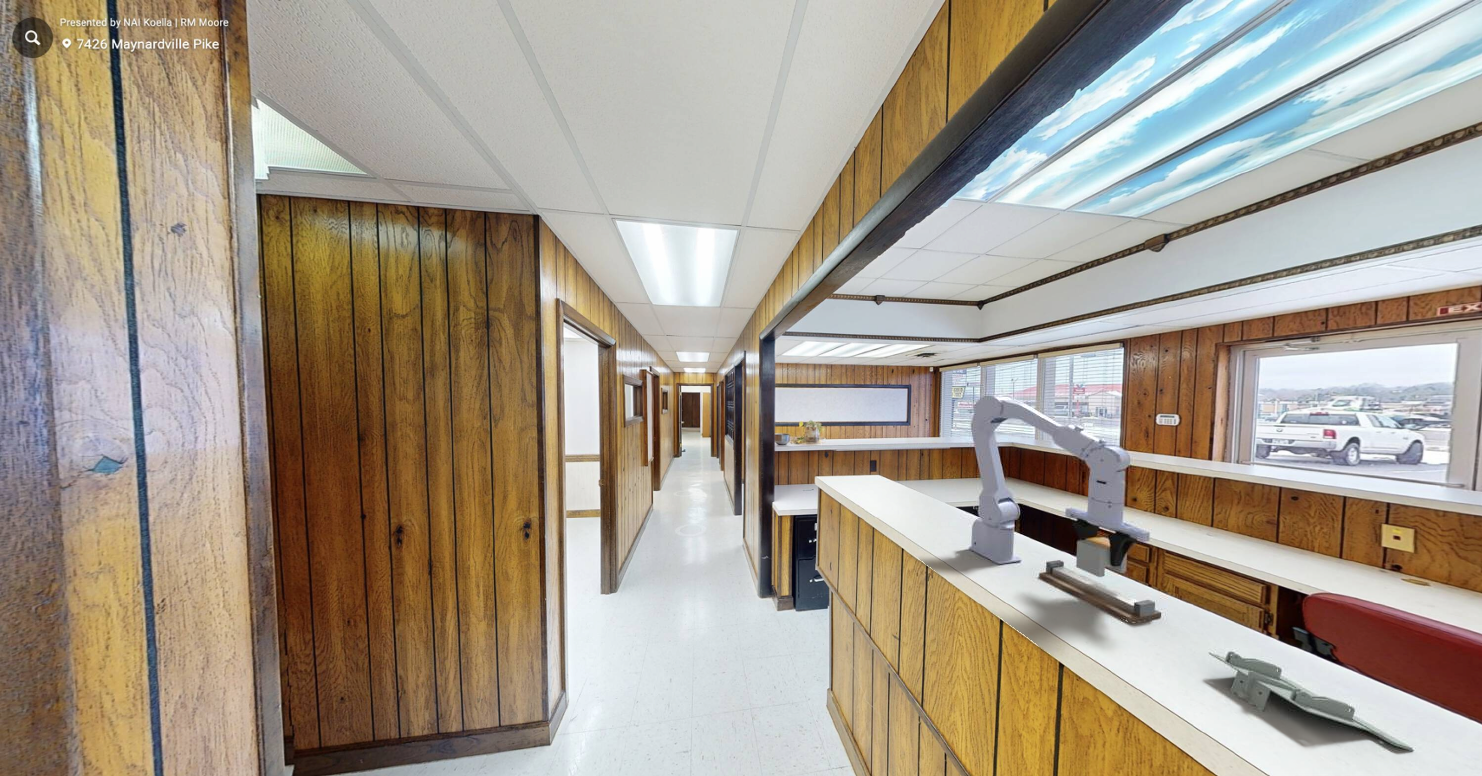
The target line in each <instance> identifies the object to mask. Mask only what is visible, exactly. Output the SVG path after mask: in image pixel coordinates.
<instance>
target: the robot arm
mask: <svg viewBox="0 0 1482 776" xmlns="http://www.w3.org/2000/svg"><path fill="white" fill-rule="evenodd" d="M973 410H974V412H973V415H972V419H971V422H970V430H971V436H972V440H973V445H974V450H975V451H974V452H975V455H976V460H977V464H978V470H979V475H980V480H981V484H982V485H981V486H982V491H981V492H980V494H979V496H978V501H979V503H978V508H977V514H978V517H979V518H977V519H975V520H974V522H973V524H972V525H971V526H972V527H971V544H970V546H968V549H969V550H970V551H973V552H975V553H977V554H979V555H980V556H983V557H984V558H986V559H988V560H990V561H992V562H993V563H996V564H998V565H1003V564H1011V563H1019V562H1022V559H1021V558H1019V557H1017V556H1016V555H1014V542H1015V541H1014V539H1015V521H1016V520H1018V519H1019V517H1020V515H1021V509H1020V506H1019V505H1018V503H1017V502H1016V501H1015V498H1014V493H1012V492H1011V491H1010V490H1009V489H1008V488H1007V485H1006V480H1005V476H1004V475H1005V474H1004V470H1003V466H1002V462H1001V457H1000V453H999V447H998V443H997V437H996V434H995V431H996V429H997V428H998V427H999V426H1000V425H1001V424H1002V423H1003V422H1006V421H1007V420H1009V419H1012V420H1013V419H1015V420H1020V421H1023V422H1024V423H1026V424H1028V425H1030V426H1031V427H1034V428H1035V429H1038V430H1039V431H1042V432H1043V433H1045V434H1047V435H1048V436H1051V437H1052V440H1053V443H1054V444H1055V445H1056V446H1058V447H1060V448H1061V449H1063V450H1065V451H1066V452H1068V453H1070V454H1071V455H1073V456H1075V457H1077V458H1078V459H1080V460H1082V461H1084V462H1085V465H1087V467H1088V468H1089V479H1088V491H1087V492H1088V495H1087V496H1088V497H1087V511H1084V510H1080V509H1077V508H1073V507H1069V508H1068V507H1067V508H1065V516H1064V517H1066V518H1069V519H1075V520H1076V521H1075V522H1074V521H1073V522H1072V526H1073V528H1074V529H1075V531H1076V533H1077V535H1078V537H1079V541H1080V540H1086V538H1092V537H1097V536H1098V532H1099V529H1100V528H1103V529H1105V530H1109V531H1111V532H1114V533H1107V539H1109V542H1110V549H1111V554H1110V563H1111V566H1114V567H1117V566H1121V564H1122V561H1123V559H1124V557H1125V555H1126V553H1127V554H1128V552H1129V550H1130V549H1131V548H1132V546H1133V545H1134V544H1136V542H1137V541H1139V542H1140V543H1145V542H1146V543H1147V542H1150V534H1151V533H1150V531H1146V530H1144V529H1141V528H1139V527H1137V526H1133V525H1131V524H1129V523H1126V522H1124V506H1125V504H1124V503H1125V489H1126V487H1125V486H1126V481H1125V480H1126V478H1125V477H1126V468H1128V467H1129V465H1130V464H1131V456H1130V454H1129V453H1128V451H1126V450H1125V448H1124V449H1123V447H1121V445H1116V444H1107V443H1108V441H1107V439H1103V438H1098V437H1096V436H1094V435H1092V434H1090V433H1089V432H1086V431H1084V430H1085V428H1084V427H1083V426H1080V425H1073V424H1065V425H1062V424H1060V423H1059V422H1056V421H1055V420H1053V419H1051V418H1050V417H1048V416H1047V415H1045V414H1043V413H1042V412H1040V411H1038V410H1036V409H1034V408H1033V407H1031V406H1030V405H1028V404H1026V403H1025V402H1024V401H1021V400H1019V399H1016V398H1014V397H1013V396H1010V395H984V396H982V397H980V398H979V399H978V400H977V401H976V403H974V405H973ZM1097 538H1098V537H1097Z"/></svg>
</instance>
